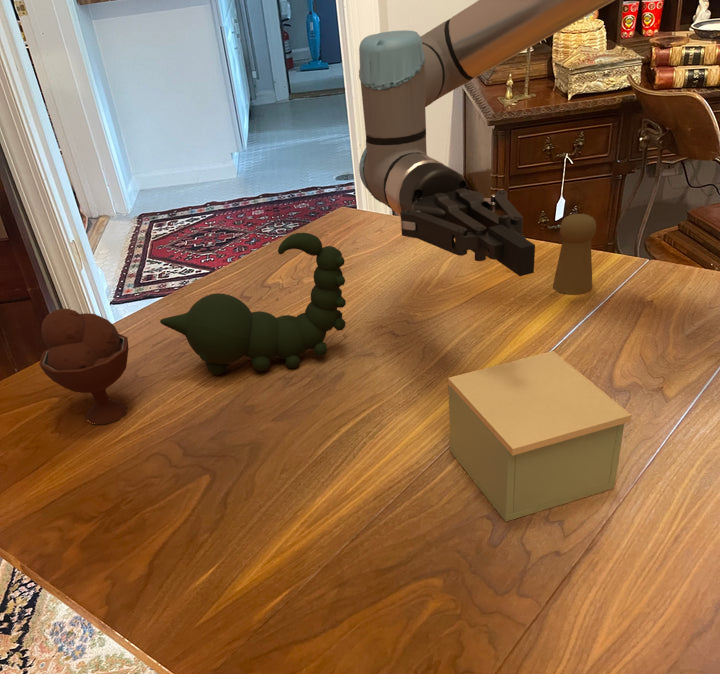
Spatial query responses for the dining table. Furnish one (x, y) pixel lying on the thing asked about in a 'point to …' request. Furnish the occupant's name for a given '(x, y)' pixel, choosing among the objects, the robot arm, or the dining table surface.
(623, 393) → the dining table surface
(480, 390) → the caddy lid
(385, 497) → the dining table surface
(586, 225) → the cork
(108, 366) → the ice cream bowl
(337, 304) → the toy figurine
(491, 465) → the box
